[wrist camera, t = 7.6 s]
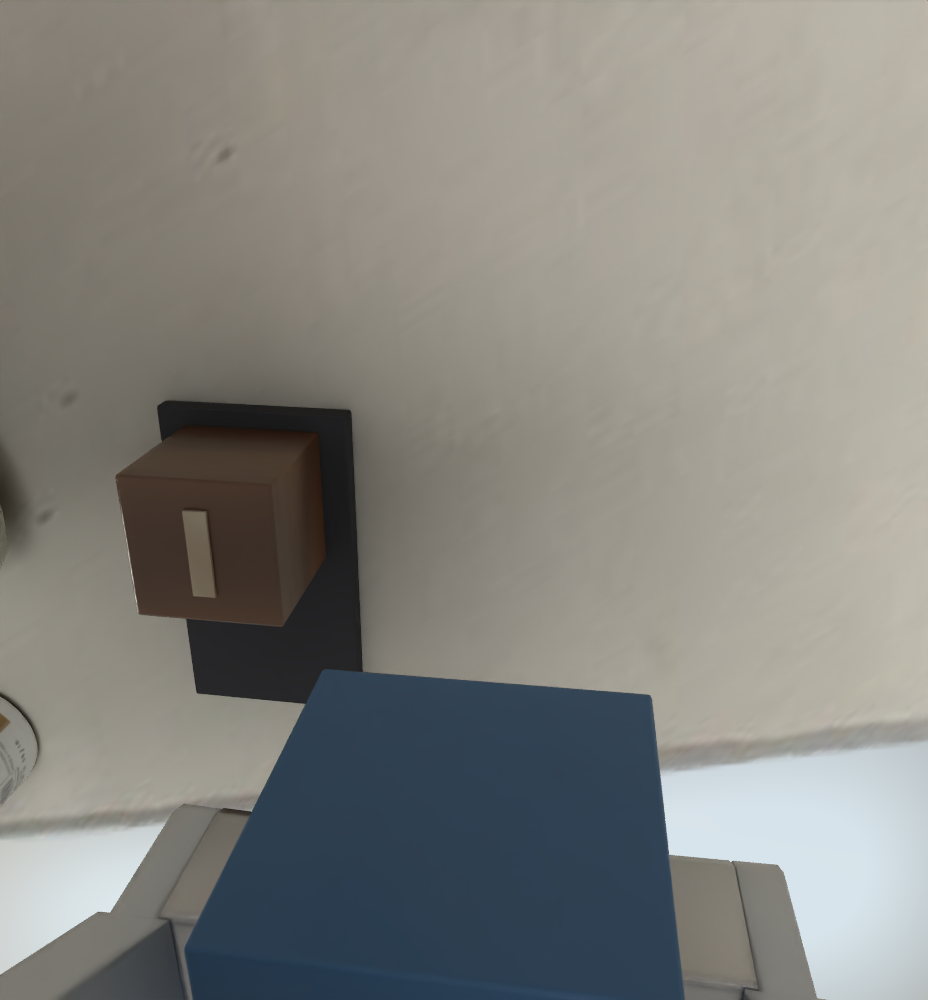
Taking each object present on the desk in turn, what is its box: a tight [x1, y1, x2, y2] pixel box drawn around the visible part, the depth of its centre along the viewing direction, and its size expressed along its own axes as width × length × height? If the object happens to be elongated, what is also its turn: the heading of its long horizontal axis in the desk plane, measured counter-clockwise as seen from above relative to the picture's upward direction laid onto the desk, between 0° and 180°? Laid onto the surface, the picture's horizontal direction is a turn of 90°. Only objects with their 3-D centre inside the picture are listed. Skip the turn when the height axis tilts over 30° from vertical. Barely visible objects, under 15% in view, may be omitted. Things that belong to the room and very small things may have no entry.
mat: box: [157, 401, 363, 704], centre depth 26 cm, size 10×6×1 cm, turn 179°
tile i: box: [116, 425, 326, 627], centre depth 23 cm, size 4×4×4 cm
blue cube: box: [184, 669, 685, 1000], centre depth 9 cm, size 4×4×4 cm
